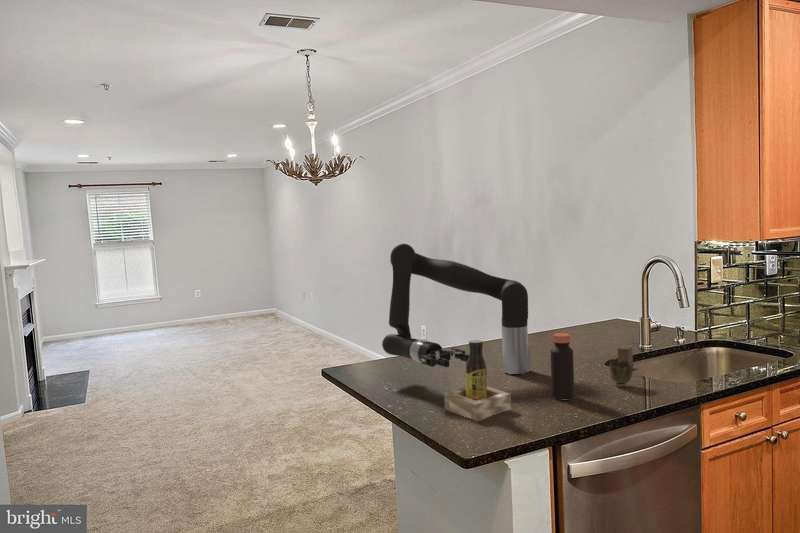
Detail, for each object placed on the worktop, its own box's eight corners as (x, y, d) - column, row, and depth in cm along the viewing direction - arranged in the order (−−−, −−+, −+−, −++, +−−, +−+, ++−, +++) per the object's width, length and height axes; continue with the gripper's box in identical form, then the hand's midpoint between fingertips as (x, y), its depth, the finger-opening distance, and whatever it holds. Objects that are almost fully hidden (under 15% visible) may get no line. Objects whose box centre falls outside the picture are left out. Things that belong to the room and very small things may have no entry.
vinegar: (570, 402, 179) (569, 337, 177) (548, 399, 183) (547, 336, 181) (576, 395, 185) (575, 333, 183) (555, 392, 188) (554, 331, 186)
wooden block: (617, 369, 211) (617, 347, 211) (622, 366, 214) (622, 345, 213) (628, 371, 209) (628, 348, 208) (633, 368, 211) (632, 346, 211)
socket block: (478, 399, 186) (477, 383, 185) (511, 410, 174) (510, 393, 174) (444, 409, 178) (444, 393, 177) (476, 421, 166) (476, 404, 166)
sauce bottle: (473, 411, 172) (471, 344, 170) (462, 405, 178) (459, 341, 176) (492, 407, 175) (489, 341, 173) (480, 401, 180) (477, 338, 179)
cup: (633, 383, 194) (632, 360, 193) (634, 390, 187) (633, 366, 186) (609, 382, 196) (608, 359, 195) (609, 389, 189) (609, 365, 188)
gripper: (408, 345, 190) (440, 353, 177) (442, 337, 198) (475, 345, 185) (409, 367, 190) (441, 377, 177) (443, 359, 199) (476, 368, 186)
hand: (458, 361), depth 181 cm, fingers open, 8 cm apart
